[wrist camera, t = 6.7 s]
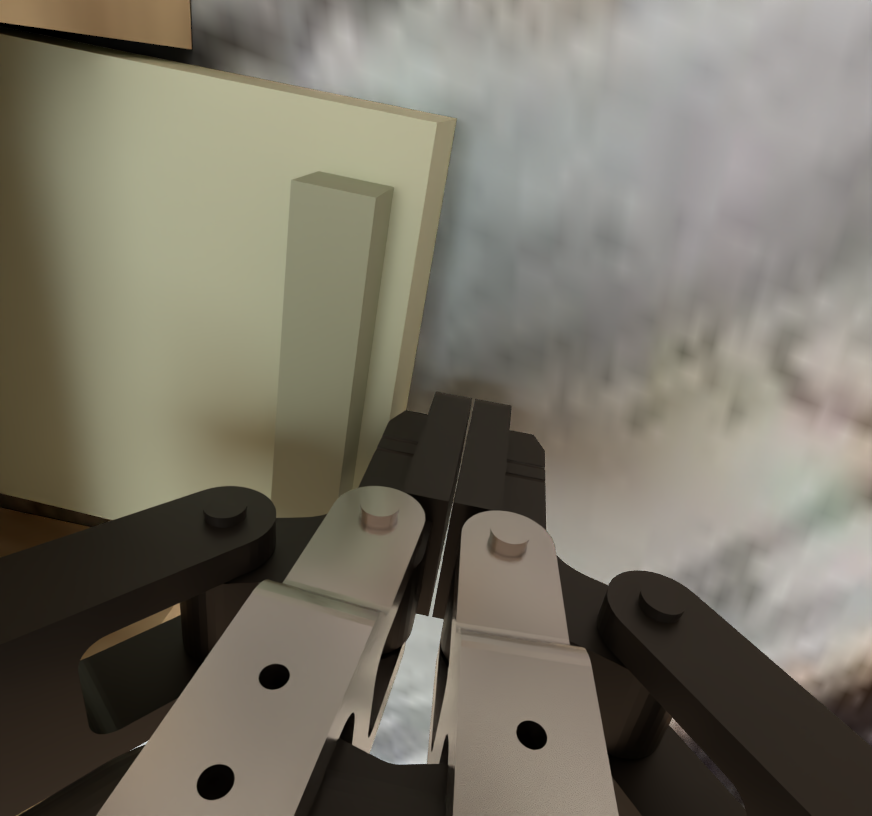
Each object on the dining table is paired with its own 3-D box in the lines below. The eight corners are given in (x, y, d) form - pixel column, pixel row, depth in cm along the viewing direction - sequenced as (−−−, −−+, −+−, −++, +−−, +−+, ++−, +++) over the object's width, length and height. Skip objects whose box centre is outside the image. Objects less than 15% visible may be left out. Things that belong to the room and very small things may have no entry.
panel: (459, 117, 12) (423, 125, 8) (392, 500, 16) (348, 623, 12) (-85, 7, 12) (-358, -34, 8) (-11, 405, 16) (-173, 495, 13)
